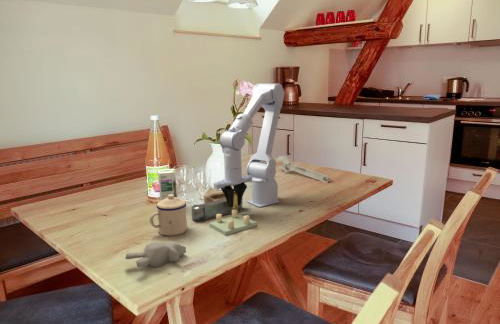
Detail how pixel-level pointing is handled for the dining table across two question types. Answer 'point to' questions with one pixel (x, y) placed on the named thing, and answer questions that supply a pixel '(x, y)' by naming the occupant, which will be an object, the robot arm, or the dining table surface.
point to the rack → (232, 223)
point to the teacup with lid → (171, 216)
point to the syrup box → (167, 183)
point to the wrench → (300, 169)
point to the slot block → (214, 197)
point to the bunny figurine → (158, 254)
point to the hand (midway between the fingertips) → (234, 205)
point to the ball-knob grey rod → (211, 210)
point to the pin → (235, 201)
